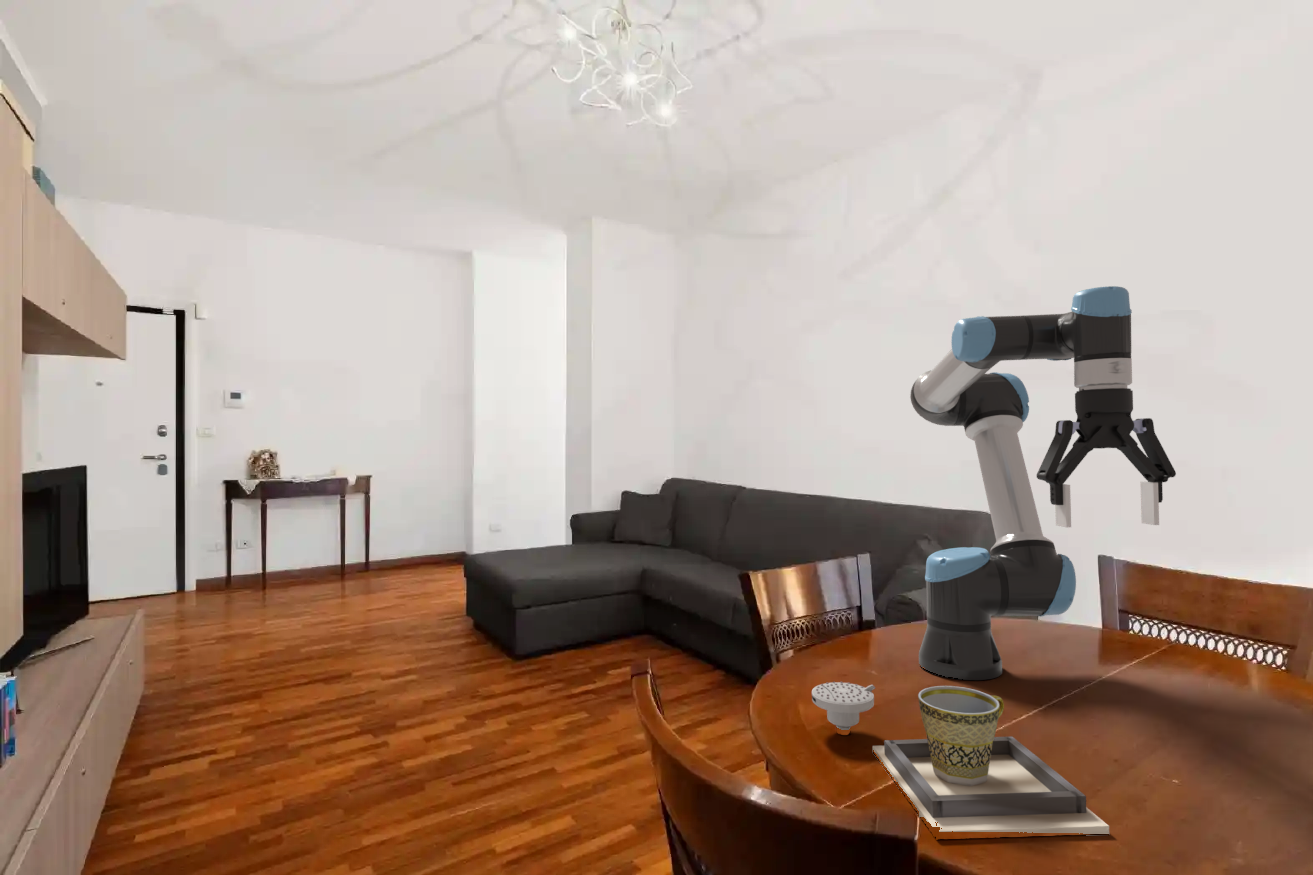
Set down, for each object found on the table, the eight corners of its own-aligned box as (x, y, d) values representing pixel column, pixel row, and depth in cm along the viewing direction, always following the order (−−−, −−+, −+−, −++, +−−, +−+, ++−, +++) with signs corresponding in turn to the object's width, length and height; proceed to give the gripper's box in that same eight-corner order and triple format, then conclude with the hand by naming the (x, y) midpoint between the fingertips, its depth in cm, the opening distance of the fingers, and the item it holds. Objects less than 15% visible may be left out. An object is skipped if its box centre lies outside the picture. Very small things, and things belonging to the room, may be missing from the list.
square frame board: (872, 752, 100) (872, 732, 100) (1007, 748, 100) (1007, 727, 100) (936, 840, 78) (935, 813, 78) (1109, 834, 78) (1108, 808, 78)
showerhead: (887, 695, 103) (822, 699, 102) (888, 743, 103) (824, 748, 102) (863, 674, 112) (803, 677, 111) (864, 718, 112) (805, 722, 111)
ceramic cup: (960, 799, 85) (958, 718, 85) (903, 764, 94) (901, 692, 94) (1036, 778, 89) (1034, 702, 89) (975, 747, 99) (973, 678, 99)
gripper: (1037, 388, 102) (1041, 530, 102) (1202, 384, 102) (1206, 526, 102) (1010, 392, 109) (1014, 524, 109) (1164, 388, 110) (1168, 520, 110)
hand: (1106, 525), depth 106 cm, fingers open, 13 cm apart
